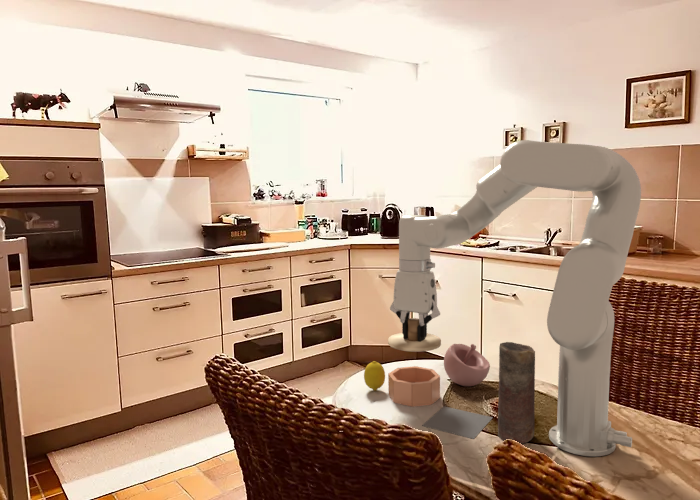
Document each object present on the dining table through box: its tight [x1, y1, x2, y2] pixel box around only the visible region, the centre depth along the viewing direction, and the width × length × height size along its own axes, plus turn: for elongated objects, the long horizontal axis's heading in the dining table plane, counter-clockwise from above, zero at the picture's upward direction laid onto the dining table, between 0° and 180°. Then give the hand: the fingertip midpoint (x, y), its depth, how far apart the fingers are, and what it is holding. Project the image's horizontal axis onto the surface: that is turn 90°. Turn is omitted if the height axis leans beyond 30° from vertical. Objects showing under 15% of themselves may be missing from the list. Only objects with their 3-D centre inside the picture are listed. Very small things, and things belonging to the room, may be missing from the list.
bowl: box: [387, 365, 441, 408], centre depth 134 cm, size 12×12×6 cm
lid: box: [387, 317, 442, 353], centre depth 132 cm, size 13×13×6 cm
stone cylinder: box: [497, 341, 536, 444], centre depth 111 cm, size 8×7×20 cm
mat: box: [421, 405, 494, 440], centre depth 119 cm, size 12×12×1 cm
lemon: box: [363, 360, 386, 392], centre depth 139 cm, size 6×6×8 cm
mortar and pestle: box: [443, 343, 491, 387], centre depth 142 cm, size 12×12×12 cm
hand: (414, 338), depth 132 cm, fingers closed on lid, 3 cm apart
